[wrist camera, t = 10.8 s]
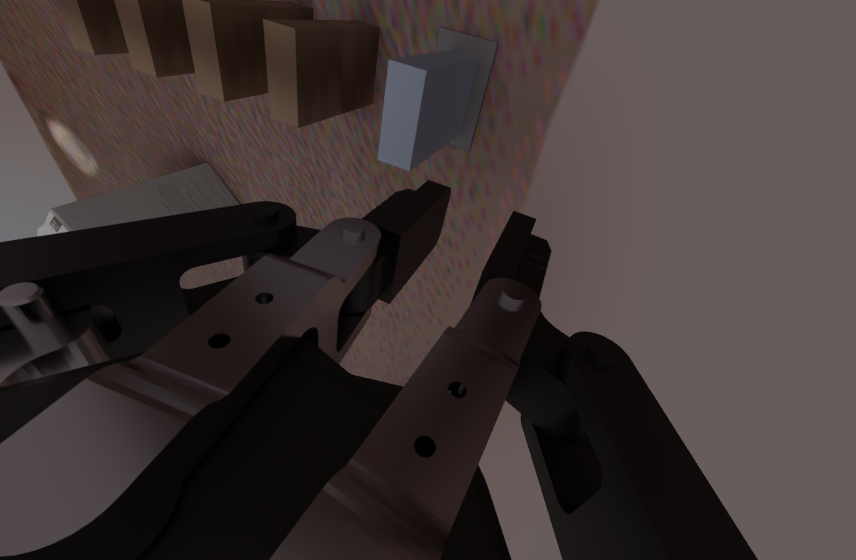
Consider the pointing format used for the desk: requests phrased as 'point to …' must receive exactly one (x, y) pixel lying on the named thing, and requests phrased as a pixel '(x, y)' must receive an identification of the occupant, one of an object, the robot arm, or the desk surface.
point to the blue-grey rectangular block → (424, 105)
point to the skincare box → (143, 201)
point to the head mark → (486, 57)
